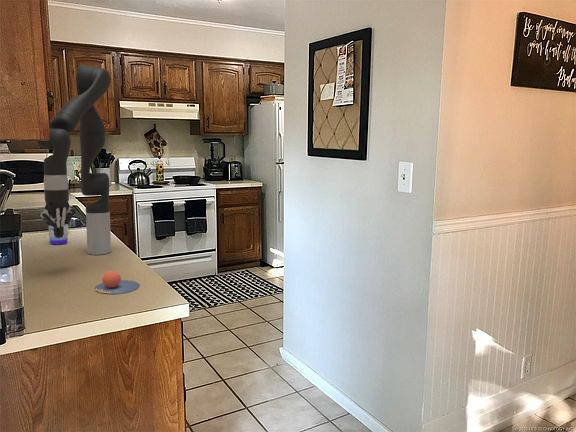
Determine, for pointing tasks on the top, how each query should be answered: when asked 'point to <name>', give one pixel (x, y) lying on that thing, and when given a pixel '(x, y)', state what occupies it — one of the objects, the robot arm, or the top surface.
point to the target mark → (120, 287)
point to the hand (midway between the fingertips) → (59, 237)
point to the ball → (111, 279)
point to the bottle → (57, 240)
